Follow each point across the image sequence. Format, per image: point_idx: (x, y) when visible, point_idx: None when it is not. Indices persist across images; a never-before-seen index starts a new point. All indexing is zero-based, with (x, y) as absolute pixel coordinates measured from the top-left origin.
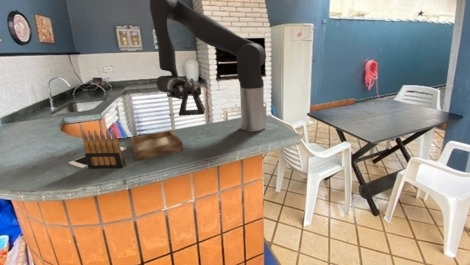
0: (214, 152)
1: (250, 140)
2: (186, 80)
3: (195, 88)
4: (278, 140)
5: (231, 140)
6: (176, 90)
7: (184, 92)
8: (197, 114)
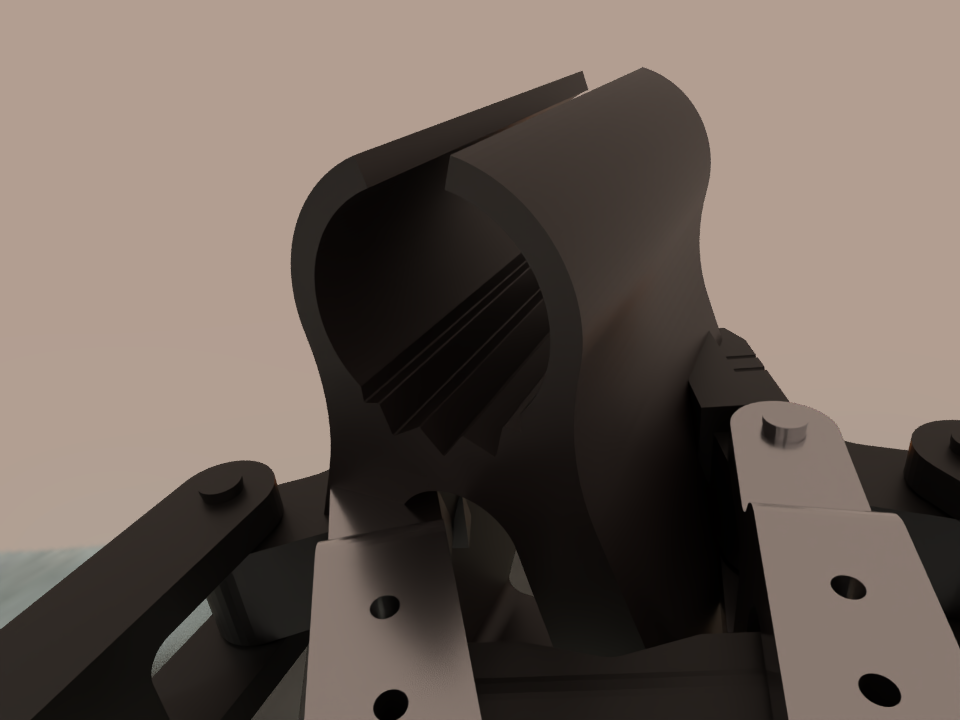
0: (517, 578)
1: (172, 639)
2: (636, 75)
3: (330, 481)
4: (65, 558)
5: (273, 715)
6: (955, 430)
7: (705, 319)
8: (530, 604)
